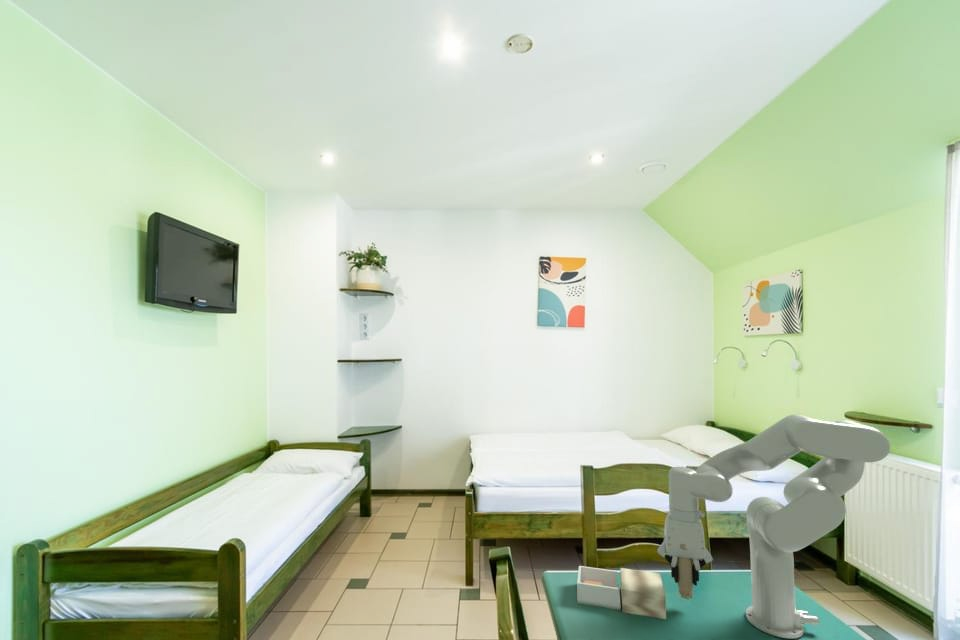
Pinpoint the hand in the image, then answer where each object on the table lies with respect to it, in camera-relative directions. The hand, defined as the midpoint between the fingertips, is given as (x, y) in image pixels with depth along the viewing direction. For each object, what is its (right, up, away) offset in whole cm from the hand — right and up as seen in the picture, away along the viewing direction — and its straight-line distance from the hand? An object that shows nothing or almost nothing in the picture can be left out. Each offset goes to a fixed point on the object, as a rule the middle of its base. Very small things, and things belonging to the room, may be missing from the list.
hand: (684, 580), depth 119 cm
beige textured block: (-11, -8, +3) cm, 14 cm away
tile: (-24, -5, +6) cm, 25 cm away
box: (-22, -8, +6) cm, 24 cm away
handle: (0, -4, 0) cm, 4 cm away
